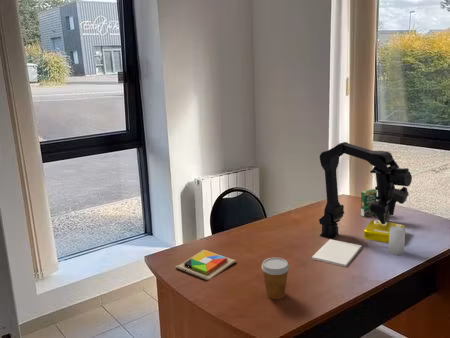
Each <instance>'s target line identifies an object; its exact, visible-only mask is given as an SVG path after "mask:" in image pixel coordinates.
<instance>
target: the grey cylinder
mask: <svg viewBox="0 0 450 338" xmlns="http://www.w3.org/2000/svg"><path fill="white" fill-rule="evenodd" d="M405 241H406V229H405V228H401V227H391V228H390V231H389V243H388V253H389V254H390V255H393V256H402V255H404V254H405Z"/></svg>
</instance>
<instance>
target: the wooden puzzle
mask: <svg viewBox="0 0 450 338" xmlns="http://www.w3.org/2000/svg"><path fill="white" fill-rule="evenodd" d="M234 263H237V260H236V259H234V258H233V259H232V258H229V257H227V256H223V255H220V254H217V253H215V252H212V251H210V250H206V249H202V250H200V251H199V252H198V253H196V254H194V255H193V256H191V257H189V258H188V259H186V260H185V261H184V262H182V263H180V264H179V265H175V268H176V269H179V271H184V272H186V273H189V274H191V275H193V276H197V277H198V278H201V279H204V280H205V281H209V280H211V279H212V278H214V277H216V276H217V275H218V274H220V273H222V272H223V271H224V270H226V269H227V268H228V267H230V266H231V265H233V264H234ZM188 266H189V267H188ZM180 268H181V269H180ZM193 268H194V269H193ZM183 269H184V270H183ZM185 270H186V271H185ZM208 272H209V273H208ZM206 273H207V274H206Z"/></svg>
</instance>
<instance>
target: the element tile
mask: <svg viewBox="0 0 450 338" xmlns="http://www.w3.org/2000/svg"><path fill="white" fill-rule="evenodd" d="M391 227H401V228H404V229H405V228H406V226H405V225H404V224H401V223H396V222H391V221H389V222H385V224H382V223H381V222H380V221H379V220H376V219H372V220H370V221H369V222H368V224H367V225H366V227H364V230H363V239H365V240H367V241H368V240H369V241H374V242H379V243H385V244H389V231H390V228H391Z"/></svg>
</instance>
